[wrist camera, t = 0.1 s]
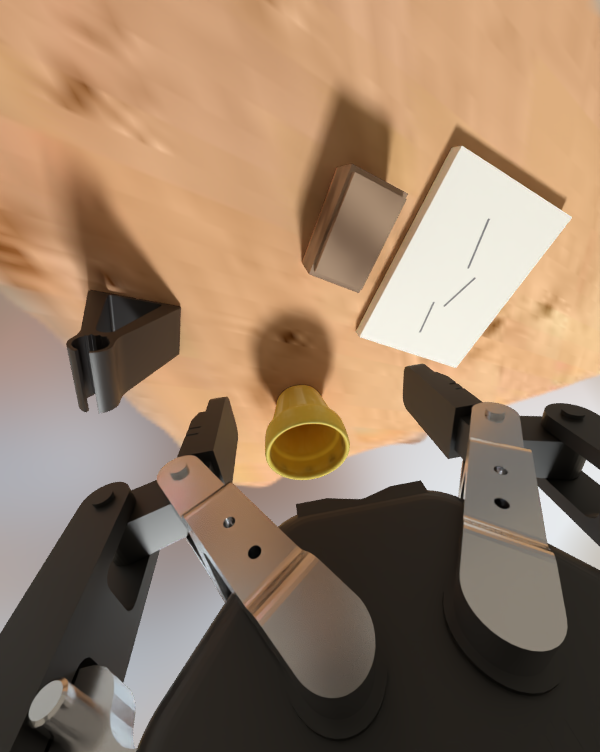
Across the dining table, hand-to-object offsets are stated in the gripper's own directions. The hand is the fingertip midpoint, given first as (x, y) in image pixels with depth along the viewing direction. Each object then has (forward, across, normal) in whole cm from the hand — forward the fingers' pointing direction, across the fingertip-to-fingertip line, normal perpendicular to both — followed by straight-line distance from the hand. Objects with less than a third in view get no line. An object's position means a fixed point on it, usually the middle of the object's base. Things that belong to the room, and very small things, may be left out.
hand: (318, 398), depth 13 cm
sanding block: (+22, -7, -7) cm, 24 cm away
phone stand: (+23, +17, 0) cm, 28 cm away
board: (+23, -20, 0) cm, 30 cm away
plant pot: (+25, 0, +15) cm, 29 cm away
